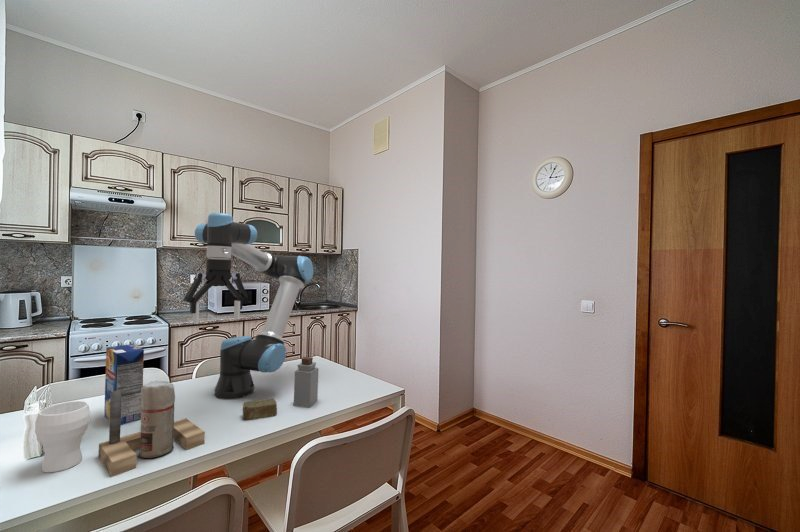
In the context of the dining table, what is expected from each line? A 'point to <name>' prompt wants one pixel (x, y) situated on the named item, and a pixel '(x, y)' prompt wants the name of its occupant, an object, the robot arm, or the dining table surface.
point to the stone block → (259, 409)
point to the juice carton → (124, 380)
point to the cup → (62, 434)
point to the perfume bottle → (306, 383)
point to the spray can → (157, 419)
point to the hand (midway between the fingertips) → (217, 321)
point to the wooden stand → (138, 438)
